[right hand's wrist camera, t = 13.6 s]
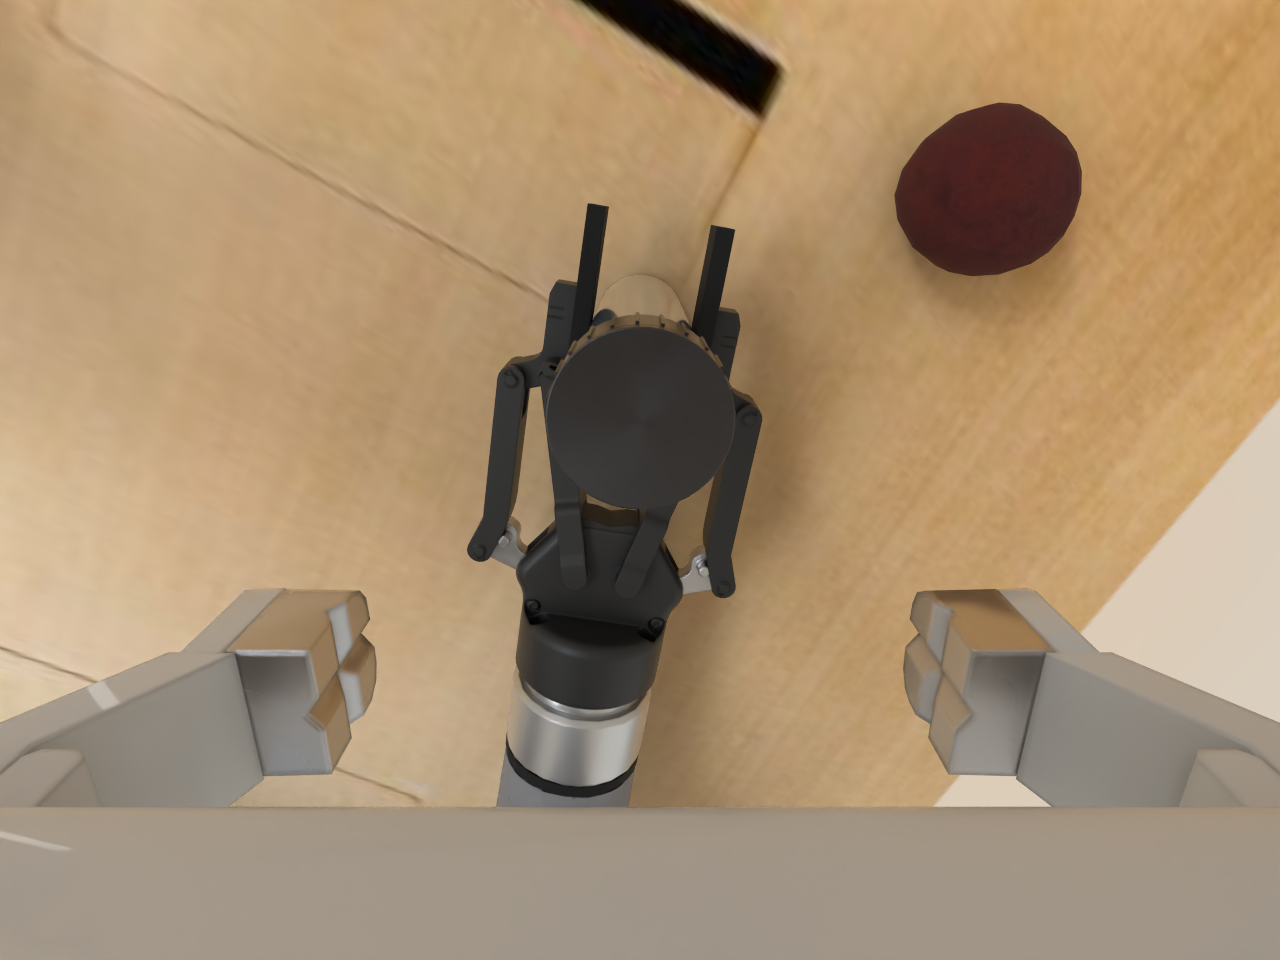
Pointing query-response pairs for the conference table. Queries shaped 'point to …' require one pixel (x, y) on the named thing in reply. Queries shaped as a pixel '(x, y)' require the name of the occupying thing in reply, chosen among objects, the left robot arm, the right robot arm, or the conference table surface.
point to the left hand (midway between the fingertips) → (660, 217)
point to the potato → (989, 190)
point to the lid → (640, 412)
